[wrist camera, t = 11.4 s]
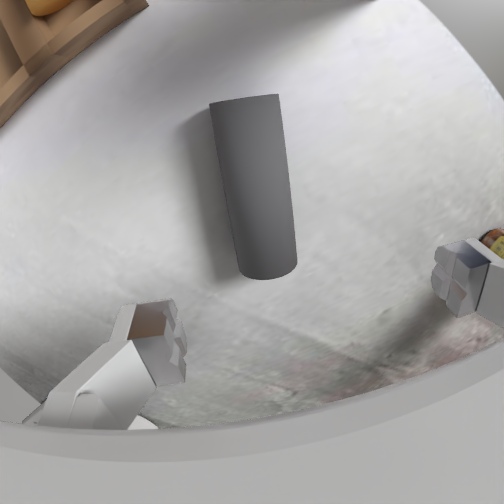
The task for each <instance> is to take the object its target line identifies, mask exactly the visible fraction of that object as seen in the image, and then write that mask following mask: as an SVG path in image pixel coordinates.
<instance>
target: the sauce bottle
mask: <svg viewBox="0 0 504 504" xmlns="http://www.w3.org/2000/svg"><path fill="white" fill-rule="evenodd" d="M481 243H482V244H483V245H485V246H486V247H487V248H489V249H490V250H491V251H493V252H494V253H495V254H496V255H498V256H499V257H500V258H501V259H504V229H501V228H500V229H494V230H491V231H490V232H489V233H488V234H486V236H485V237H484V238H483V239H482V240H481Z"/></svg>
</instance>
